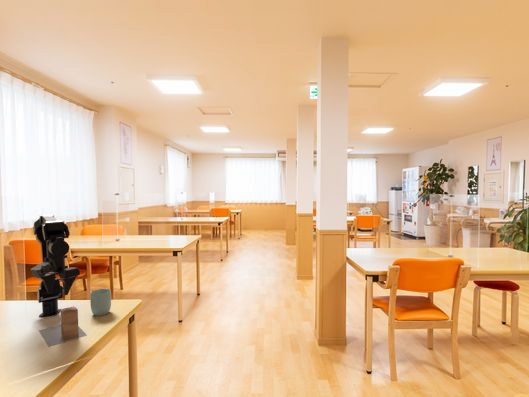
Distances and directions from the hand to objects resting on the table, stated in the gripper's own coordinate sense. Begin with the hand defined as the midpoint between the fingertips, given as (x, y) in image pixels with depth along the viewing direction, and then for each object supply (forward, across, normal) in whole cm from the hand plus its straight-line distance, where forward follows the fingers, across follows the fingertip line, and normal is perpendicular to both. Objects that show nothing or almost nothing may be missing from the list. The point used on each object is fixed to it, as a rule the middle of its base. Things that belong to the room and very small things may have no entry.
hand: (57, 294), depth 127 cm
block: (+14, +10, -3) cm, 17 cm away
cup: (+14, +2, +17) cm, 22 cm away
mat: (+14, +4, -2) cm, 15 cm away
